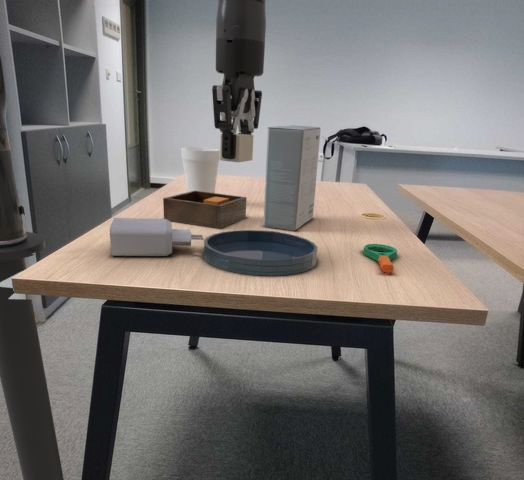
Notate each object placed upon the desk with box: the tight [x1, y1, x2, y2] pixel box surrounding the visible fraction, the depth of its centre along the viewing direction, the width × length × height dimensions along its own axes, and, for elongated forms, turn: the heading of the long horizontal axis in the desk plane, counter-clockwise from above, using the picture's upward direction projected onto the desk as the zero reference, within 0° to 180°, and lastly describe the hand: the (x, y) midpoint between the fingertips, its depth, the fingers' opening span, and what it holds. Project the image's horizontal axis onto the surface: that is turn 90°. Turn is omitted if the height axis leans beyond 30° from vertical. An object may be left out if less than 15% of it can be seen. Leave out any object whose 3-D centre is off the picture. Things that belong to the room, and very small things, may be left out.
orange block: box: [204, 197, 229, 205], centre depth 104 cm, size 4×6×4 cm, turn 158°
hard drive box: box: [262, 124, 321, 231], centre depth 103 cm, size 16×8×20 cm, turn 161°
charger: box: [109, 217, 204, 257], centre depth 80 cm, size 5×9×15 cm
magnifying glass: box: [363, 243, 398, 273], centre depth 83 cm, size 15×6×2 cm, turn 173°
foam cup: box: [180, 146, 221, 193], centre depth 120 cm, size 10×9×13 cm
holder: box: [162, 191, 248, 229], centre depth 105 cm, size 14×14×5 cm
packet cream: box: [219, 133, 254, 163], centre depth 79 cm, size 4×6×4 cm, turn 158°
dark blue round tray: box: [203, 229, 318, 277], centre depth 81 cm, size 19×19×2 cm
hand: (236, 157), depth 80 cm, fingers closed on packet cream, 5 cm apart
